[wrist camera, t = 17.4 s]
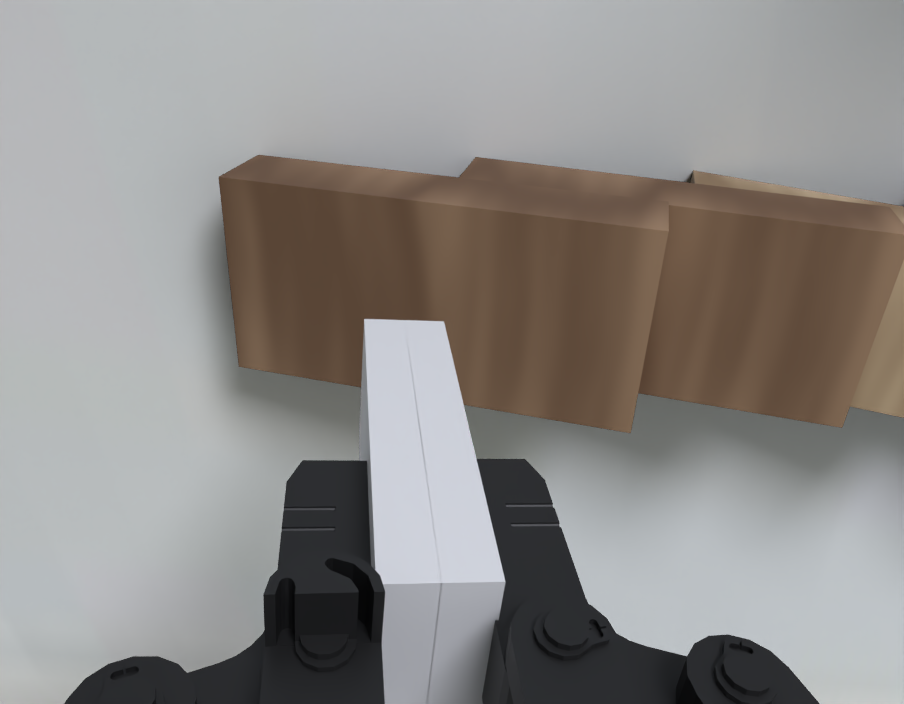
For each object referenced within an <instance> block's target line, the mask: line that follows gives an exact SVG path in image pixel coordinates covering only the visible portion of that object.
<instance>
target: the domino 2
mask: <svg viewBox="0 0 904 704" xmlns="http://www.w3.org/2000/svg"><path fill="white" fill-rule="evenodd" d="M459 178H466V179H475V180H484V181H492V182H501V183H510V184H519V185H528V186H536V187H545V188H554V189H563V190H572V191H580V192H589V193H598V194H607V195H616V196H624V197H633V198H642V199H651V200H660V201H668V202H669V232H668V238H667V243H666V248H665V254H664V259H663V264H662V269H661V275H660V280H659V285H658V291H657V296H656V301H655V307H654V312H653V317H652V322H651V328H650V333H649V338H648V344H647V349H646V354H645V359H644V365H643V370H642V375H641V381H640V386H639V391H638V393H640V394H646V395H652V396H658V397H664V398H670V399H676V400H682V401H688V402H694V403H699V404H705V405H711V406H717V407H723V408H729V409H735V410H741V411H747V412H752V413H758V414H764V415H770V416H776V417H782V418H788V419H794V420H800V421H806V422H811V423H817V424H823V425H829V426H835V427H841V428H842V427H843V424H844V421H845V419H846V416H847V413H848V410H849V408H850V405H851V402H852V400H853V397H854V394H855V391H856V389H857V386H858V383H859V380H860V378H861V375H862V372H863V370H864V367H865V364H866V361H867V359H868V356H869V353H870V350H871V348H872V345H873V342H874V340H875V337H876V334H877V331H878V329H879V326H880V323H881V320H882V318H883V315H884V312H885V310H886V307H887V304H888V301H889V299H890V296H891V293H892V291H893V288H894V285H895V282H896V280H897V277H898V274H899V271H900V269H901V266H902V263H903V261H904V224H903V223H902V222H901V220H900V219H899V218H898V217H897V215H896V214H895V213H894V212H893V210H892V209H891V208H890V207H887V206H879V205H870V204H862V203H854V202H845V201H837V200H829V199H820V198H812V197H804V196H795V195H787V194H779V193H770V192H762V191H754V190H745V189H737V188H729V187H720V186H712V185H704V184H695V183H687V182H679V181H670V180H662V179H654V178H645V177H637V176H629V175H620V174H612V173H604V172H595V171H587V170H579V169H570V168H562V167H554V166H545V165H537V164H529V163H520V162H512V161H504V160H496V159H487V158H479V157H476V158H475V159H474V160H473V161H472V162H471V164H470V165H469V166H468V167H467V168H466V170H465V171H464V172H463V173H462V174H461V176H460V177H459Z"/></svg>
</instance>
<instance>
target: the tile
mask: <svg viewBox="0 0 904 704" xmlns="http://www.w3.org/2000/svg"><path fill="white" fill-rule="evenodd" d="M690 183H695V184H704V185H712V186H720V187H729V188H737V189H745V190H754V191H762V192H770V193H779V194H787V195H795V196H804V197H812V198H820V199H829V200H837V201H845V202H854V203H862V204H870V205H879V206H887V207H890V208H891V209H892V210H893V212H894V213H895V214H896V215H897V217H898V218H899V219H900V220H901V222H902V223H903V224H904V207H903V206H897V205H891V204H886V203H880V202H874V201H868V200H862V199H856V198H851V197H845V196H839V195H833V194H827V193H821V192H816V191H810V190H804V189H798V188H792V187H786V186H781V185H775V184H769V183H763V182H757V181H751V180H746V179H740V178H734V177H728V176H722V175H717V174H711V173H705V172H699V171H693V174H692V177H691V181H690ZM850 407H855V408H860V409H865V410H869V411H874V412H879V413H884V414H888V415H893V416H898V417H902V418H904V261H903V263H902V266H901V269H900V271H899V274H898V277H897V280H896V282H895V285H894V288H893V291H892V293H891V296H890V299H889V301H888V304H887V307H886V310H885V312H884V315H883V318H882V320H881V323H880V326H879V329H878V331H877V334H876V337H875V340H874V342H873V345H872V348H871V350H870V353H869V356H868V359H867V361H866V364H865V367H864V370H863V372H862V375H861V378H860V380H859V383H858V386H857V389H856V391H855V394H854V397H853V400H852V402H851V405H850Z"/></svg>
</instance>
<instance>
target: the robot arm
mask: <svg viewBox="0 0 904 704" xmlns="http://www.w3.org/2000/svg"><path fill="white" fill-rule="evenodd" d="M552 504H553V503H552V500H551V497H550V494H549V491H548V488H547V485H546V483H545V480H544V479H543V478H542V477H541V475H540V474H539V473H538V472H537V471H536V470H535V469H534V468H533V467H532V466H531V465H530V464H529V463H528V462H527V461H526V460H525V459H476V455H475V451H474V446H473V442H472V438H471V434H470V430H469V425H468V421H467V417H466V413H465V408H464V404H463V400H462V396H461V391H460V387H459V383H458V379H457V375H456V370H455V366H454V362H453V358H452V353H451V349H450V345H449V341H448V336H447V332H446V328H445V324H444V321H416V320H383V319H364V336H363V358H362V381H361V403H360V425H359V461H306V460H303V461H302V462H301V463H300V465H299V466H298V467H297V469H296V470H295V471H294V473H293V474H292V475H291V477H290V478H289V479H288V481H287V484H286V493H285V503H284V513H283V522H282V532H281V542H280V552H279V561H278V570H277V571H276V572H275V573H274V574H273V575H272V576H271V577H270V579H269V582H268V584H267V587H266V589H265V592H264V624H265V631H264V633H263V634H262V635H261V636H260V637H259V638H258V639H257V640H256V641H255V642H254V643H253V644H252V645H251V646H250V647H249V648H247V649H246V650H244V651H243V652H241V653H240V654H238V655H237V656H235V657H232V658H230V659H228V660H225V661H223V662H220V663H218V664H215V665H212V666H208V667H205V668H202V669H199V670H196V671H192V672H189V673H186V672H185V671H184V670H183V669H182V668H181V666H180V665H179V664H177V663H174V662H171V661H169V660H166V659H163V658H161V657H130V658H127V659H124V660H120V661H117V662H114V663H110V664H108V665H106V666H105V667H103V668H101V669H100V670H98V671H97V672H95V673H93V674H92V675H90V676H89V677H87V678H85V680H84V681H83V682H82V683H81V684H80V685H79V686H78V687H77V689H76V690H75V691H74V692H73V693H72V694H71V695H70V696H69V698H68V699H67V700H66V702H65V704H819V702H818V701H817V700H816V699H815V698H814V697H813V695H812V694H811V693H810V692H809V691H808V690H807V688H806V687H805V686H804V685H803V684H802V683H801V681H800V680H799V679H798V678H797V677H796V676H795V674H794V673H793V672H792V671H791V670H790V669H789V667H788V666H786V665H785V664H784V663H783V662H782V661H781V660H780V659H779V658H778V657H776V656H775V655H774V654H773V653H772V652H771V651H769V650H767V649H766V648H764V647H762V646H760V645H758V644H756V643H754V642H753V641H751V640H748V639H744V638H740V637H736V636H731V635H716V636H708V637H706V638H704V639H702V640H701V641H699V642H697V643H695V644H694V645H693V647H692V649H691V651H690V652H689V654H688V656H683V655H679V654H675V653H671V652H667V651H663V650H659V649H655V648H651V647H647V646H643V645H641V644H638V643H635V642H632V641H629V640H627V639H625V638H624V637H622V636H620V635H618V634H616V632H615V631H614V629H613V628H612V626H611V624H610V623H609V621H608V619H607V618H606V617H605V616H603V615H602V614H601V613H600V612H599V611H597V610H596V609H595V608H594V607H593V606H591V605H589V604H588V602H587V600H586V598H585V595H584V592H583V589H582V586H581V584H580V581H579V578H578V575H577V572H576V569H575V566H574V563H573V560H572V558H571V555H570V552H569V549H568V546H567V543H566V540H565V537H564V534H563V532H562V529H561V527H559V520H558V517H557V514H556V511H555V509H554V508H553V506H552Z"/></svg>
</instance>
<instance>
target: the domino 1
mask: <svg viewBox="0 0 904 704" xmlns="http://www.w3.org/2000/svg"><path fill="white" fill-rule="evenodd" d="M219 184H220V194H221V203H222V213H223V222H224V231H225V241H226V250H227V259H228V269H229V278H230V288H231V297H232V306H233V316H234V325H235V334H236V344H237V353H238V363H239V367H244V368H250V369H256V370H262V371H268V372H274V373H280V374H286V375H291V376H297V377H303V378H309V379H315V380H321V381H327V382H333V383H339V384H344V385H350V386H356V387H361V381H362V358H363V336H364V319H383V320H416V321H444V324H445V328H446V332H447V336H448V341H449V345H450V349H451V353H452V358H453V362H454V366H455V370H456V375H457V379H458V383H459V387H460V391H461V396H462V400H463V404H464V405H468V406H474V407H480V408H486V409H492V410H497V411H503V412H509V413H515V414H521V415H527V416H533V417H539V418H545V419H550V420H556V421H562V422H568V423H574V424H580V425H586V426H592V427H598V428H603V429H609V430H615V431H621V432H627V433H631V428H632V423H633V418H634V412H635V407H636V402H637V396H638V391H639V386H640V381H641V375H642V370H643V365H644V359H645V354H646V349H647V344H648V338H649V333H650V328H651V322H652V317H653V312H654V307H655V301H656V296H657V291H658V285H659V280H660V275H661V269H662V264H663V259H664V254H665V248H666V243H667V238H668V232H669V202H668V201H660V200H651V199H642V198H633V197H624V196H616V195H607V194H598V193H589V192H580V191H572V190H563V189H554V188H545V187H536V186H528V185H519V184H510V183H501V182H492V181H484V180H475V179H466V178H457V177H449V176H440V175H431V174H422V173H413V172H405V171H396V170H387V169H378V168H369V167H361V166H352V165H343V164H334V163H325V162H317V161H308V160H299V159H290V158H281V157H273V156H264V155H257V156H255V157H254V158H252V159H250V160H248V161H246V162H245V163H243V164H241V165H239V166H237V167H236V168H234V169H232V170H230V171H228V172H227V173H225V174H223V175H221V176H219Z"/></svg>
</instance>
